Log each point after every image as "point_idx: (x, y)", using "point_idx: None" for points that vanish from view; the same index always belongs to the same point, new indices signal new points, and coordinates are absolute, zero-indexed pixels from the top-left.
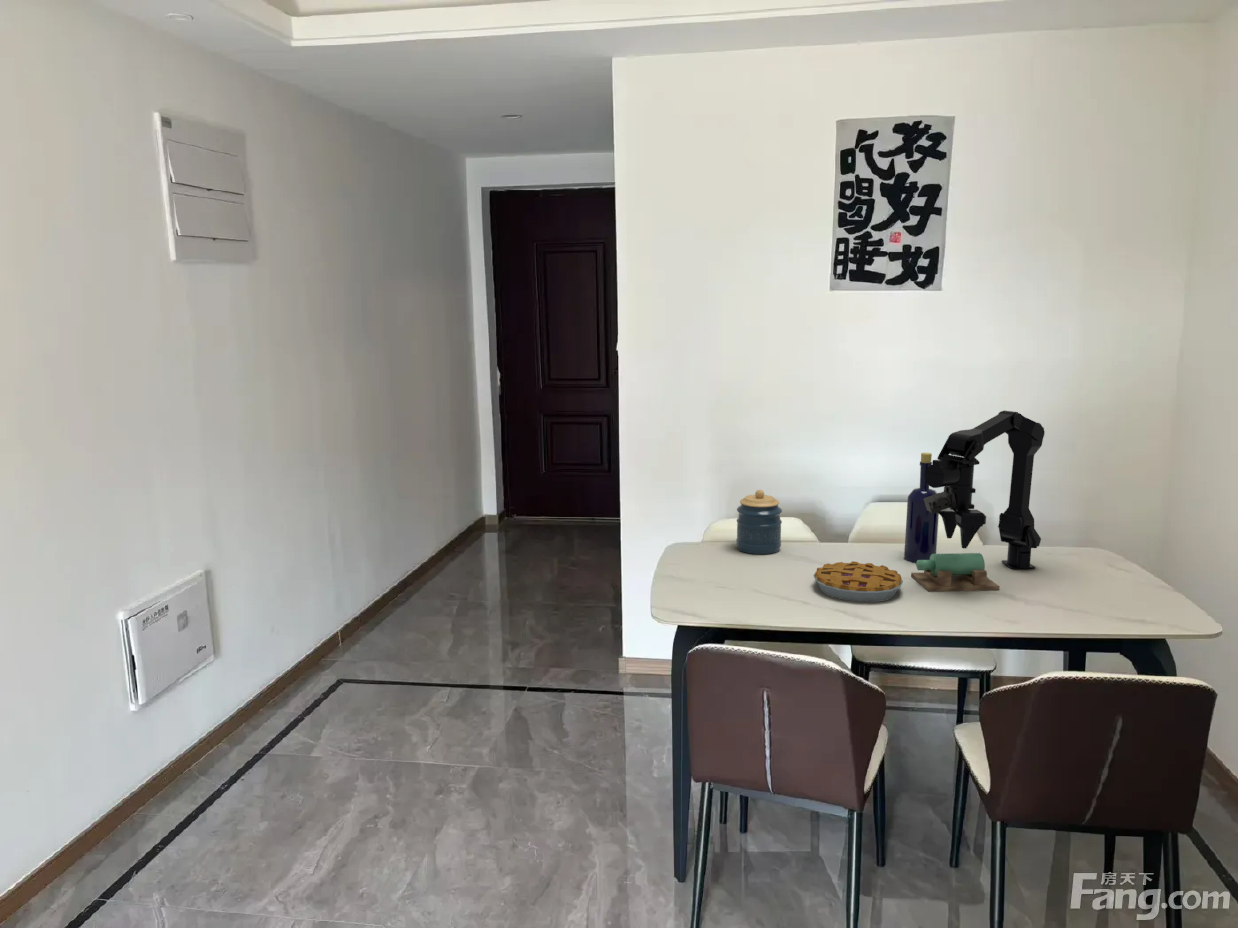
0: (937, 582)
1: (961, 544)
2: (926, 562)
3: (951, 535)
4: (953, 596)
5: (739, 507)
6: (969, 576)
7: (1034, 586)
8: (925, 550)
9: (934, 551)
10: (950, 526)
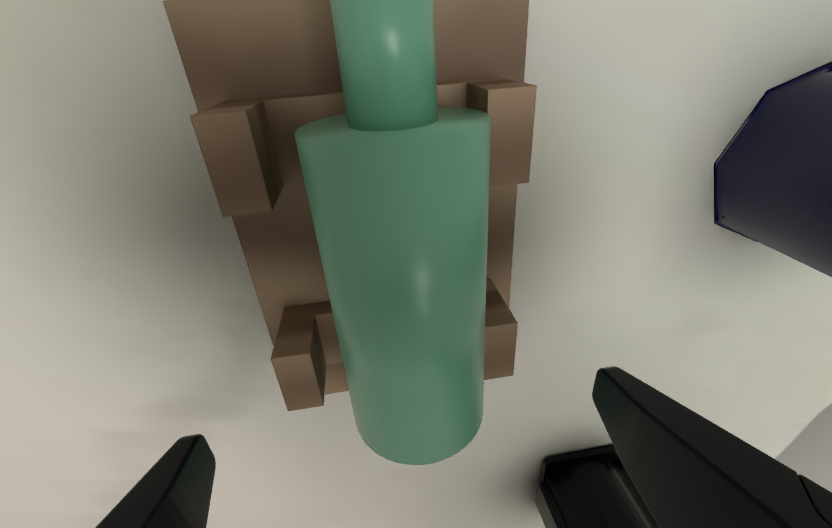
0: (248, 100)
1: (166, 469)
2: (350, 34)
3: (609, 421)
4: (117, 157)
5: None
6: None
7: (356, 482)
8: (794, 185)
9: (772, 240)
10: (701, 521)
